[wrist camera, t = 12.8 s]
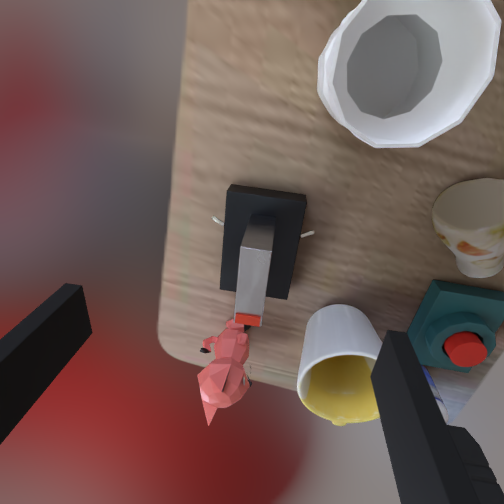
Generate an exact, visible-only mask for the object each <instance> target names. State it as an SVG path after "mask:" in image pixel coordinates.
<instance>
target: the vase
mask: <svg viewBox="0 0 504 504" xmlns="http://www.w3.org/2000/svg"><path fill="white" fill-rule="evenodd" d="M500 28H501V19H500V17H499V15H498V13H497V11H496V10H495V8H494V6H493V4H492V2H491V0H362V1H361V2H360V4H359V5H358V6H357V7H356V8H355V9H354V10H352V11H351V12H349V13H348V14H347V16H346V17H345V18H344V19H343V20H342V22H341V24H340V26H339V27H338V28H336V29H335V30H334V32H333V33H332V34H331V36H330V38H329V40H328V43H327V45H326V47H325V49H324V50H323V52H322V54H321V55H320V57H319V60H318V81H317V92H318V94H319V97H320V99H321V101H322V102H323V104H324V106H325V107H326V109H327V110H328V112H329V114H330V115H331V116H332V117H333V118H334V119H335V120H336V121H337V122H338V123H339V124H340V125H343V126H345V127H346V128H347V129H349V130H350V131H351V132H352V134H353V135H354V136H356V137H357V138H359V139H360V140H362V141H363V142H365V143H367V144H369V145H371V146H372V147H374V148H406V147H420V146H421V145H423V144H425V143H427V142H428V141H430V140H432V139H434V138H435V137H437V136H439V135H441V134H442V133H444V132H446V131H448V130H449V129H451V128H453V127H455V126H456V125H458V124H460V123H461V122H462V121H463V120H464V118H465V117H466V115H467V114H468V113H469V111H470V110H471V108H472V107H473V105H474V104H475V103H476V101H477V100H478V98H479V97H480V96H481V94H482V93H483V91H484V90H485V88H486V87H487V86H488V84H489V83H490V81H491V80H492V78H493V76H494V71H495V64H496V57H497V50H498V43H499V35H500Z"/></svg>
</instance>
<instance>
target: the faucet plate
mask: <svg viewBox="0 0 504 504" xmlns="http://www.w3.org/2000/svg"><path fill="white" fill-rule="evenodd" d="M306 204H307V201H306V195H304V194H297V193H290V192H283V191H276V190H269V189H262V188H254V187H247V186H240V185H233V184H231V185H230V187H229V189H228V190H227V196H226V209H225V223H223V222H222V221H221V220H219V219H218V218H216V217H215V216H214V215H213V217H212V219H213V220H214V221H216V222H217V223H219V224H220V225H221V226H223V225H224V237H223V250H222V264H221V278H220V289H221V290H228V291H234V292H236V289H237V278H238V267H239V256H240V247H241V244H242V240H243V237H244V234H245V231H246V228H247V225H248V222H249V219H250V216H251V214H254V215H261V216H269V217H276V223H275V231H274V239H273V248H272V255H271V262H270V269H269V276H268V282H267V289H266V297H272V298H278V299H285V300H287V298H288V293H289V288H290V283H291V278H292V273H293V269H294V264H295V259H296V254H297V249H298V244H299V239H300V235H301V238H302V237H305V236H308V235H311V234H314V230H312V231H309V232H306V233H303V234H301V229H302V224H303V219H304V214H305V209H306Z"/></svg>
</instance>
